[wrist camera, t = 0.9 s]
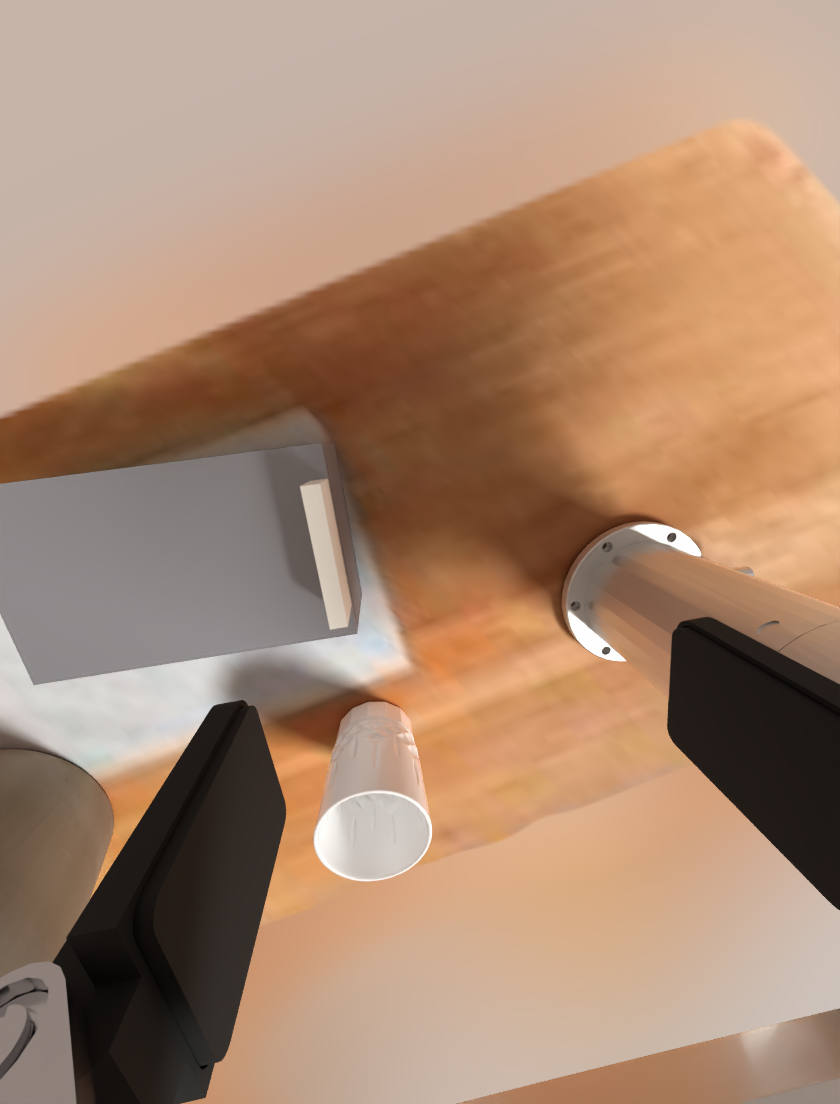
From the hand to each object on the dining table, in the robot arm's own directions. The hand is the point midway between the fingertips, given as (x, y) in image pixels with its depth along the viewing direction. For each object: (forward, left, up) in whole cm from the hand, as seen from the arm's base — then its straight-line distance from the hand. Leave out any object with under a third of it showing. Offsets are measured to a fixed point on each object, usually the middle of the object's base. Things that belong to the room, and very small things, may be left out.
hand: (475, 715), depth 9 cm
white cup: (+5, +19, -23) cm, 30 cm away
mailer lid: (+15, 0, -16) cm, 22 cm away
